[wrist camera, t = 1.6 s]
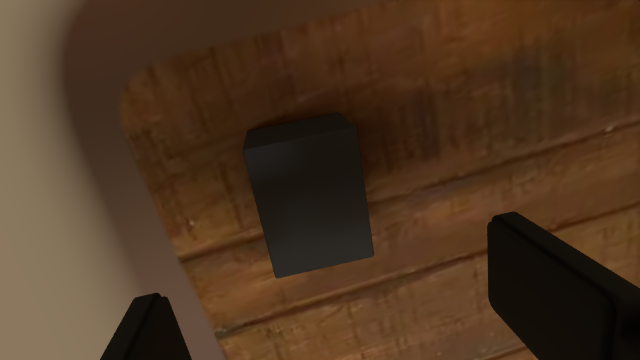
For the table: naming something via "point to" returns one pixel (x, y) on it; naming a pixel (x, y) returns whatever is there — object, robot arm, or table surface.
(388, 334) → the table surface
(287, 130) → the dark grey block
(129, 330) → the robot arm
